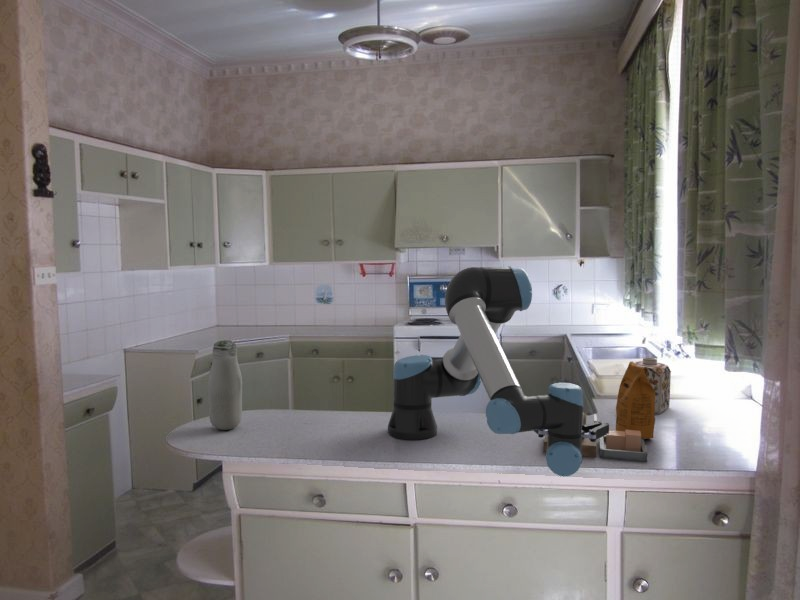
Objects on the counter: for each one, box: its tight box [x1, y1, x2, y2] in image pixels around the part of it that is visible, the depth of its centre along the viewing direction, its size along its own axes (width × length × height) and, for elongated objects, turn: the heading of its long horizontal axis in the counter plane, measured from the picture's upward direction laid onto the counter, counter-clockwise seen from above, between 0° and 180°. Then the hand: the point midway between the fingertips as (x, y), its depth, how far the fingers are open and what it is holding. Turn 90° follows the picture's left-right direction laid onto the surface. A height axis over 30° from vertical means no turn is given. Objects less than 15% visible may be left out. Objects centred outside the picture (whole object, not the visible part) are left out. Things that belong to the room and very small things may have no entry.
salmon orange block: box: [625, 430, 641, 452], centre depth 178 cm, size 5×5×4 cm
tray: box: [599, 435, 648, 462], centre depth 179 cm, size 12×14×2 cm
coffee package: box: [615, 361, 656, 440], centre depth 193 cm, size 10×12×22 cm
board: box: [543, 435, 597, 458], centre depth 183 cm, size 14×14×3 cm
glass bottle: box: [207, 339, 243, 431], centre depth 199 cm, size 10×10×28 cm
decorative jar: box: [634, 357, 672, 415], centre depth 225 cm, size 12×12×18 cm
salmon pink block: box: [606, 429, 625, 450], centre depth 181 cm, size 5×5×4 cm
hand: (568, 417), depth 173 cm, fingers open, 13 cm apart
